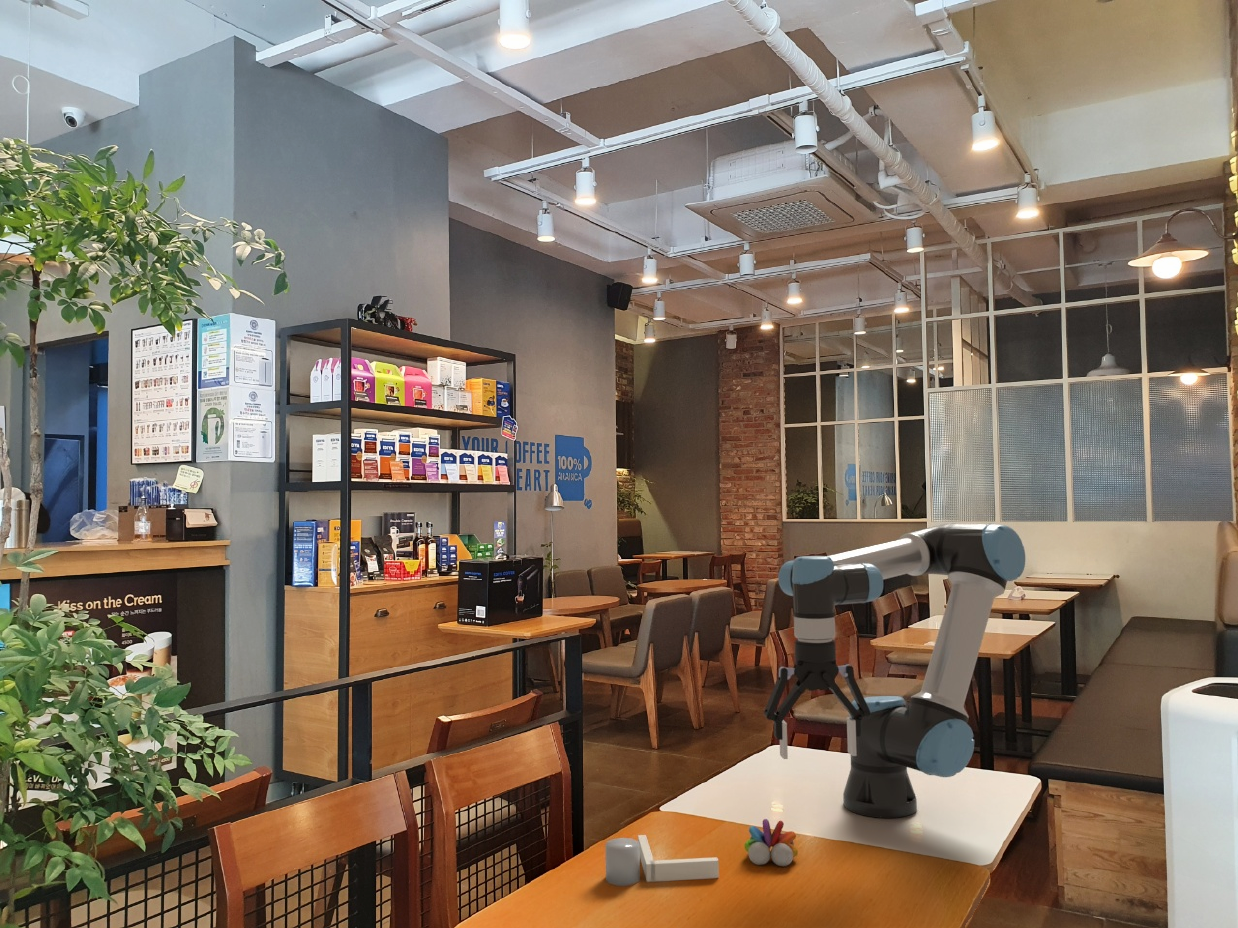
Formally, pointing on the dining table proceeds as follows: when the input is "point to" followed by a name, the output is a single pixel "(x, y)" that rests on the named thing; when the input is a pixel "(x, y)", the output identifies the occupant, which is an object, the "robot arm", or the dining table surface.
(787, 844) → the rainbow petal fan toy
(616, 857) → the short grey cylinder
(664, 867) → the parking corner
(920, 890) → the dining table surface
